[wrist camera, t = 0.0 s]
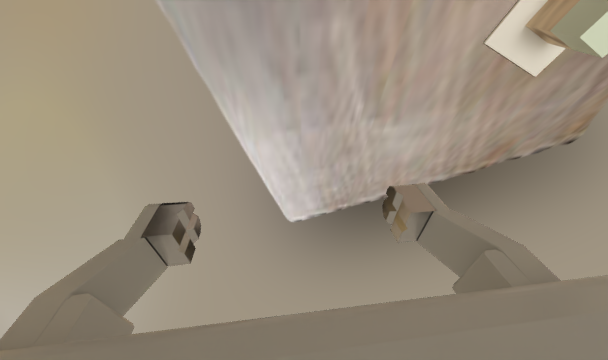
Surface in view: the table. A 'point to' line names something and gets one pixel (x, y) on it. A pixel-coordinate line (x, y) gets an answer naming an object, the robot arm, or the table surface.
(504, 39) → the felt pad
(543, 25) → the wooden block
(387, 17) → the table surface
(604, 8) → the sage slab
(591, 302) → the robot arm
